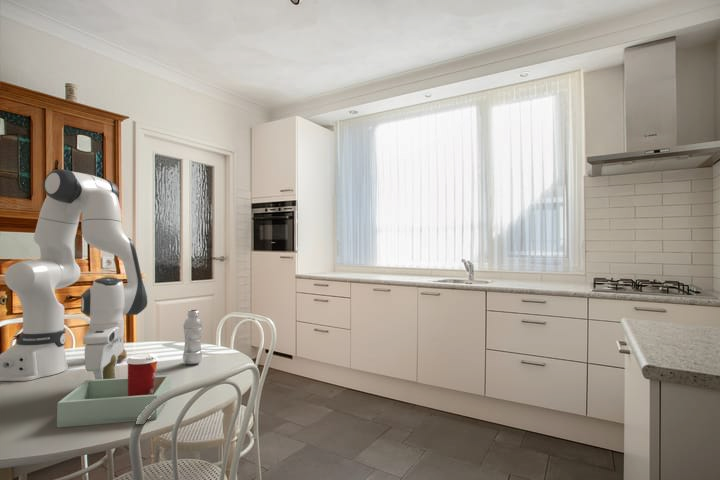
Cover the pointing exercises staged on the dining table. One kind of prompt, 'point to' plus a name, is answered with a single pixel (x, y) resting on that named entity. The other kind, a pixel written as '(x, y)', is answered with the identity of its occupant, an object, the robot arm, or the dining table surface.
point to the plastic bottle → (192, 338)
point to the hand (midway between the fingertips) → (105, 376)
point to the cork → (109, 369)
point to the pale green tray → (107, 402)
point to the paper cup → (141, 374)
